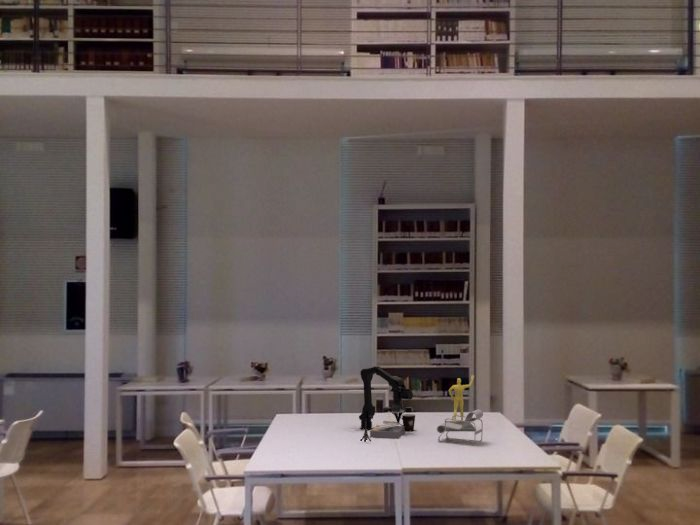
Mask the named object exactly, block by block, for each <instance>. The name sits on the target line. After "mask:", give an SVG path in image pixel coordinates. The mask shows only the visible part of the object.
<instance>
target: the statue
mask: <svg viewBox="0 0 700 525" xmlns="http://www.w3.org/2000/svg"><path fill="white" fill-rule="evenodd" d="M470 378H471V380H470V382H469V384H461V383H462V379H461V378H460V377H458V378H456V380H457V381H456V384H452V386H451V387H450V388H449V389H448V393H449V395H450V397H451V401H452V402H453V416H454V415H457V414H458V413H457V411H458V408H459V411H460V414H459V416H464V415H465V413H464V403H465V402H464V396H463V393H464V391H465V389H468V388H470V387H472V385H473V381H474V379H475V375H471V377H470ZM452 390H454V393H455V394H454V395H453V394H452ZM456 418H457V416H454V418H453V419H455V420H453V422H452V420H446V423H447V422H450V423H454V424H459V425H463V423H464V422H463V421H464V417H460V419H461V420H462V421H456V420H457V419H456ZM447 428H449V427H446V429H447ZM449 430H450V429H449ZM449 430H447V431H446V432H448V431H449ZM449 432H476V431H475V426H474V424H473V423H469V425H468V426H466V427H464V428H462V429H453V428H452V429H451V430H450V431H449Z"/></svg>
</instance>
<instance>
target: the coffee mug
mask: <svg viewBox="0 0 700 525" xmlns="http://www.w3.org/2000/svg"><path fill="white" fill-rule="evenodd" d="M400 420H402V424H401V423H399V426H405V432H414V430H415V423H416V422H415V421H416V414H412V413H403V414H402V415H401V418H400Z"/></svg>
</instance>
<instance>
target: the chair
mask: <svg viewBox="0 0 700 525" xmlns="http://www.w3.org/2000/svg"><path fill="white" fill-rule="evenodd" d="M474 415H475V417H474ZM454 416H456V417H458V418H459V417H460V418H461V417H463V418H465V419H464V420H463V422H464V423H463V425H459V424H454V423H450V422H447V423H446V421H448V420H449V421H452V422H453V421H454V420H455V419H454ZM483 416H484V412H483V411H482V410H481V409H479V408H478V409H475V410H473V411H471V412H468V413H467V415H466V416H464V415H463V416H461V415H454V414H453V416H452V418H448V417H447V418H445V419H444V423H441V424H439V425H438V426H437V427H436V431H437V433H439V434H440V435H439V436H438V439H437V440H438V442H439V443H443V444H444V443H445V444H451V442H449V441H441V439H440V438H441V436H442V435H443V434H444V433H445V432H446V433H445V436H446V439H448V440H456V438H453V437H449V436H448V434H449V432H451V431H450V430H451V429H452V428H453V429H462V428H464V427H466V426H468V425H469V423H471V424H472V425H473V427H474V428H475V431H474V436H476V435H478V434H480V433H483V426H484V425H483V420H482V419H481V418H482V417H483ZM477 420H479V421H481V429H479V430H477V428H476V424H475V423H474V422H475V421H477ZM456 421H462V420H460V419H456ZM446 427H449V428H447V429H446ZM449 429H450V430H449ZM447 430H449V431H447ZM480 437H481V439H480V440H476V437H474V439H468V440H469V441H468V442H474V443H473V444H471V443H464V444H465V446H474V445H476V442H478V441H479V443H480V442H482V441H483V434H481V436H480ZM458 439H459V441H467V439H464V438H458ZM452 443H453V444H455V445H462V443H459V442H452Z"/></svg>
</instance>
